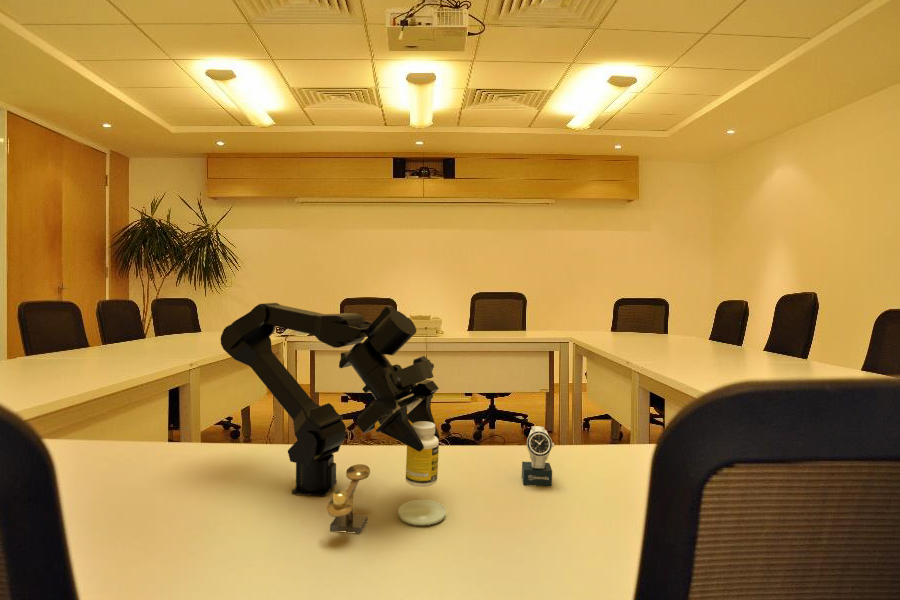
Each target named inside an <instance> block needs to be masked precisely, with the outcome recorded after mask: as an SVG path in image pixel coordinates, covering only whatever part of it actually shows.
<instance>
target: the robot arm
mask: <svg viewBox="0 0 900 600" xmlns="http://www.w3.org/2000/svg"><path fill="white" fill-rule="evenodd" d="M276 327H278V328H282V329H286V330H291V331H296V332H300V333H304V334H308V335H312V336H313V337H315V338H316V339H317V340H318V341H319V342H321V343H323V344H325V345H328V346H329V347H332V348H334V349H335V348H336V349H338V348H343V347H349V346H353V347H352V348H350V350H349V351H344V352H343V351H342V352H341V353H340V360H339V363H338V368H339V369H344V368H348V367H352V368H353V370H354V371H355V372H356V374H357V375H358V377H359V378H360V380H361V381H362V383H364V386H363V387H362V391H363V393H364V394H369V393H371V394H372V396H373V397H374V400H373V401H372V402H371V403H370V404H369V405H368V406H367V407H366V408H364V409H363V411H362V412H361V413H360V414H359V415H358V416H356V418H357V419H356V425H357V426H358V428H359V429H360V431H361V433H362V434H363V435H365V434H367V433H369V432H371V431H372V430H374V429H375V427H376V423H378V424H379V425H380V426H378V428H377V429H375V432H376V433H382V434H384V435H386V436H388V437H390V438H393V439H395V440H397V441H398V442H401V443H402V444H405V445H406V446H407V445H408V446H410V447H411V448H413V449H415V450H417V451H421V450H422V449H424V446H423V444H422V442H421V440H420V438H419V437H418V435H417V433H416V432H415V430H414V429H413V427H412V424H413V423H415V422H419V421H427V422H432V423H434V424H435V434H434V436H436V437H437V438H438V440H440V438H441V436H440V433H439V430H438V428H437V425H436V422H435V419H434V416H433V413H432V409H431V405H432V403H431V402H432V399H433V398H434V395H435V393H436V392H438V390H439V389H440V388H439V387H438V385H437V384H436V383H435V381H434V380H431V379H433V378H434V374H433V370H434V368H435V364H434V363H433V362H432V361H431V359H429V358H428V357H426V355H423V356H420V357H417V358H414V359H413V360H412V361H413V362H412V364H411V365H409V366H406V367H402V366H401V365H400V364H398V363H396V364H392V363H391V362H390V361H389V359H388V358H387V357H386V355H388V356H394V355H396V354H397V352H398V351H400V350H401V349H402V348H403V347H404V346H405V344H407V343H408V342H409V341H410V340H411V339H412V337H413V336H415V335H416V333H417V328H416V326H415V323H414V322H413V321H412V319H411V318H410V317H408V316H406V315H405V314H404V313H402V311H399V310H397V309H396V308H395V307H394V306H393V305H389V306H385V307H384V308H383V309H382V310H381V312H380V314H379V315H378V316H377V317H376V318H375V319H374V320H372V321H370V320H369V321H368V320H365V319H364V316H362V315H361V314H359V313H355V312H353V313H347V312H346V313H345V312H343V313H341V312H340V313H320V312H316V311H312V310H306V309H301V308H297V307H292V306H287V305H283V304H279V303H277V302H266V303H259V304H257V305H256V306H254V307H253V308H252V309H251V310H250V311H249V312H247V313H246V314H244V315H242V316H240V317H239V318H237V319H235V320H234V321H233V322H232V323H230V324H229V325H227V326H225V327H224V328H223V331H222V333H221V335H220V345H221V347H222V349H223V350H224V351H225V353H226V354H228V355H229V356H230V357H231V358H232V359H233V360H234V361H236V362H240V363H241V364H243V365H246V366H248V367H250V368H251V370H252V371H253V372H254V373H255V374H256V376H257V377H258V379H259V380H260V382H262V383H263V384H264V386H265V387H266V388H267V389H268V390H269V392H270V393H271V395H272V396H273V397H274V398H275V399H276V400H277V402H278V403H279V405H280V406H281V407H282V408H283V409H284V411H285V412H286V413H287V414H288V415H289V417H290V418H291V419H292V422H293V431H294V436H295V438H296V439H297V441H295V442H294V443H293V444H292V445H291V446H290V448H289V449H288V450H287V453H288V454H287V455H288V457H289V461H290V462H292V463H295V487H294V488H293V489H292V490H291V494H293V495H304V496H315V497H325V496H327V495H328V493H329V492H330V491H331V489H333V488H334V487H335V485H336V484H337V482H338V481H337V463H336V462H334V461H335V459H334V456H335V455H334V454H335V453H339V450H340V448H341V445H342V444H343V443H344V441H345V439H346V435H347V433H346V432H347V431H346V430H347V426H346V424H345V423H344V421H343V419H344V416H342V415H340V414H339V413H338V412H337V410H336V409H335V407H334V406H333V405H332V404H331V403H330V402H328V403H325V404H322V405H321V404H320V405H319V404H318V403H316V402H315V401H314V400H313V399H312V398H311V397H310V395H309V393H307V392H306V391H305V389H304V388H303V387H302V385H300V383H299V382H298V381H297V380H296V379H295V378H294V376H293V375H292V374H291V373H290V371H289V370H288V369H287V368H286V366H285V365H284V364H283V363H282V362H281V361H280V360H279V359H278V357H277V356H276V354H274V352H273V348H272V347H273V345H272V340H271V336H272V335H273V334H274V333H275V331H276ZM365 338H366V339H365ZM411 423H412V424H411Z"/></svg>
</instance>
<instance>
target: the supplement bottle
mask: <svg viewBox="0 0 900 600" xmlns="http://www.w3.org/2000/svg"><path fill="white" fill-rule="evenodd" d="M411 425H412V427H413V429H414V430H415V432H416V433H417V435H418V437H419V438H420V440H421V442H422V444H423V446H424V449H422V450H421V451H417V450H415V449H413V448H411V447H410V446H408V445H406V460H405V463H406V464H405V481H406V483H407V484H409V485H410V486H413V487H419V488H425V487H427V488H428V487H430V486H433V485H435V484H436V483H437V482H438V474H439V473H438V471H439V449H440V447H439V446H440V442H439V440H440V439H438V438H437V437H436V436H434V434H435V425H436V423H435V424H434V423H432V422H427V421H419V422H415V423H412V424H411Z"/></svg>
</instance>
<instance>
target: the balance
mask: <svg viewBox="0 0 900 600" xmlns="http://www.w3.org/2000/svg"><path fill="white" fill-rule="evenodd" d="M370 474H371V469H370V467H369V466H368V465H366V464H363V463H362V464H360V463H358V464H354V465H351V466H349V467H347V469H346V472H345V475H346V478H347V479H349V480H351V481H350V483H349V485H348V486H347V489H346V490H336V491H334V492H333V493H332V495H333V496H332V498H333V499H332V500H330V501H329V502H328V503H327V505H326V513H327V514H328V515H329V516H331V517H334V519H333V520H332V521H331V523H330V525H329V532H333V531H346V532H355V533H361V534H362V532H363V530H364V529H365V527H366V525H367V524H368V522H369V515H364V514H354V509H355V508H354V505H355V504H354V492H355V490H356V489H357V486H358V485H359V482H360V481H363V480H365V479H367V478H368V477H369V476H370ZM367 521H368V522H367ZM366 523H367V524H366ZM365 524H366V525H365ZM364 526H365V527H364ZM363 528H364V529H363ZM362 529H363V530H362ZM361 531H362V532H361ZM355 533H354V534H355Z"/></svg>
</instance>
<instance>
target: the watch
mask: <svg viewBox="0 0 900 600" xmlns="http://www.w3.org/2000/svg"><path fill="white" fill-rule="evenodd" d="M530 428H531V429H530V432H529V434H528V437H527V439H526V448H527V451H528V453H529V456H530V457H529V458H530V461H521V479H523V480H522V484H523V486H527V485H536V486H535V487H548V486H553V468H552V467H551V463H550V462H546V461H548V459H549V456H550V453H551V451H552V449H553V448H554V447H555V443H554V442H553V441H552V438H551V437H550V435H549V434H548V431H547V430H546V429H545V427H544V426H539V425H538V426H537V425H536V426H533V425H532V426H531V427H530Z"/></svg>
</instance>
